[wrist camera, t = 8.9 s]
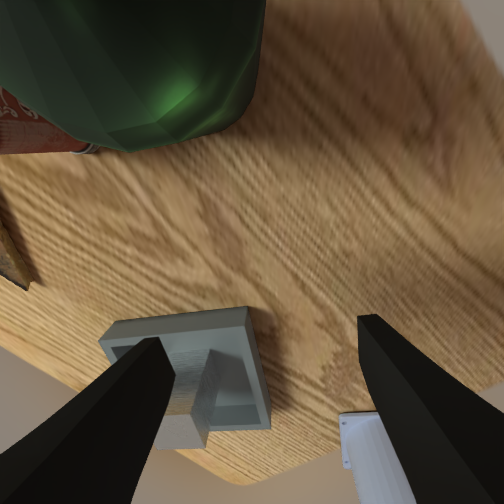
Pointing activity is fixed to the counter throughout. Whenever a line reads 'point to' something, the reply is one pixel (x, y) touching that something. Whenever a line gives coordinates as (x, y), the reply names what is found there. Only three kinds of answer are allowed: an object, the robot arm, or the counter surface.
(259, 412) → the tray
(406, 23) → the counter surface
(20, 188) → the counter surface
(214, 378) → the aluminium block
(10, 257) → the shard
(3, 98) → the lighter
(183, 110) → the potion bottle
